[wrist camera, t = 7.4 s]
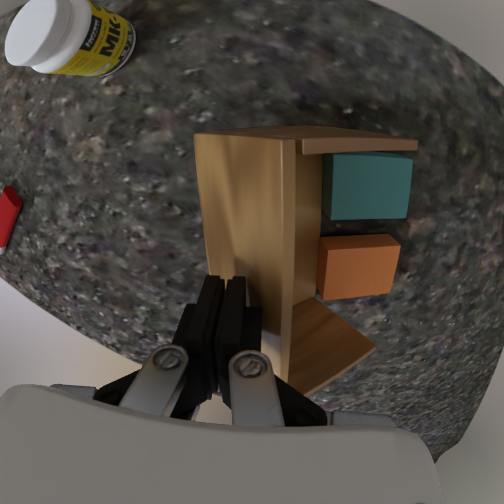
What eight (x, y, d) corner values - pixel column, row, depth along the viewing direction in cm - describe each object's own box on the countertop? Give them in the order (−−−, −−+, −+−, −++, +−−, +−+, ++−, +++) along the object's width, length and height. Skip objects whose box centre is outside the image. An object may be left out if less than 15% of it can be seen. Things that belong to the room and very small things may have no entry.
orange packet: (327, 250, 17) (401, 245, 17) (319, 236, 19) (388, 233, 19) (322, 300, 19) (390, 292, 19) (316, 284, 21) (380, 278, 21)
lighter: (16, 209, 18) (-1, 256, 21) (24, 204, 19) (6, 251, 22) (1, 188, 17) (-14, 239, 20) (10, 184, 18) (-7, 234, 21)
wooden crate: (192, 133, 13) (281, 139, 7) (317, 125, 16) (421, 140, 10) (218, 335, 19) (277, 413, 13) (310, 296, 22) (377, 348, 16)
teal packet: (333, 154, 14) (413, 159, 14) (323, 149, 16) (397, 153, 16) (330, 220, 16) (406, 218, 16) (321, 209, 18) (392, 208, 18)
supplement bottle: (139, 66, 14) (60, 48, 7) (83, 85, 15) (-2, 89, 7) (137, 9, 12) (67, -30, 4) (82, 31, 12) (3, 16, 5)
